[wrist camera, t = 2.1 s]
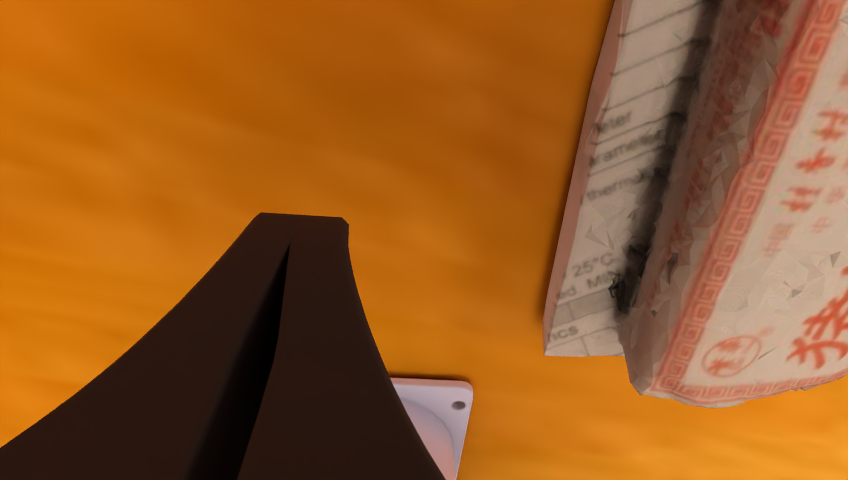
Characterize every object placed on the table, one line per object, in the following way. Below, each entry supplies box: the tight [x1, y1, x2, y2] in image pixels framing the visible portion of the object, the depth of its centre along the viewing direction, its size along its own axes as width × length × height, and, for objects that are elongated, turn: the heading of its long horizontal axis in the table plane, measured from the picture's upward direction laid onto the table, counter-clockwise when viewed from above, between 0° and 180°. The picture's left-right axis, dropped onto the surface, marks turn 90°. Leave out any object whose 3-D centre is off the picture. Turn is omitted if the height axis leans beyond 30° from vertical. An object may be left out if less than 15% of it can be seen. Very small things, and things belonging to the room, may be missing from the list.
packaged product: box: [543, 0, 848, 408], centre depth 16 cm, size 18×5×10 cm
